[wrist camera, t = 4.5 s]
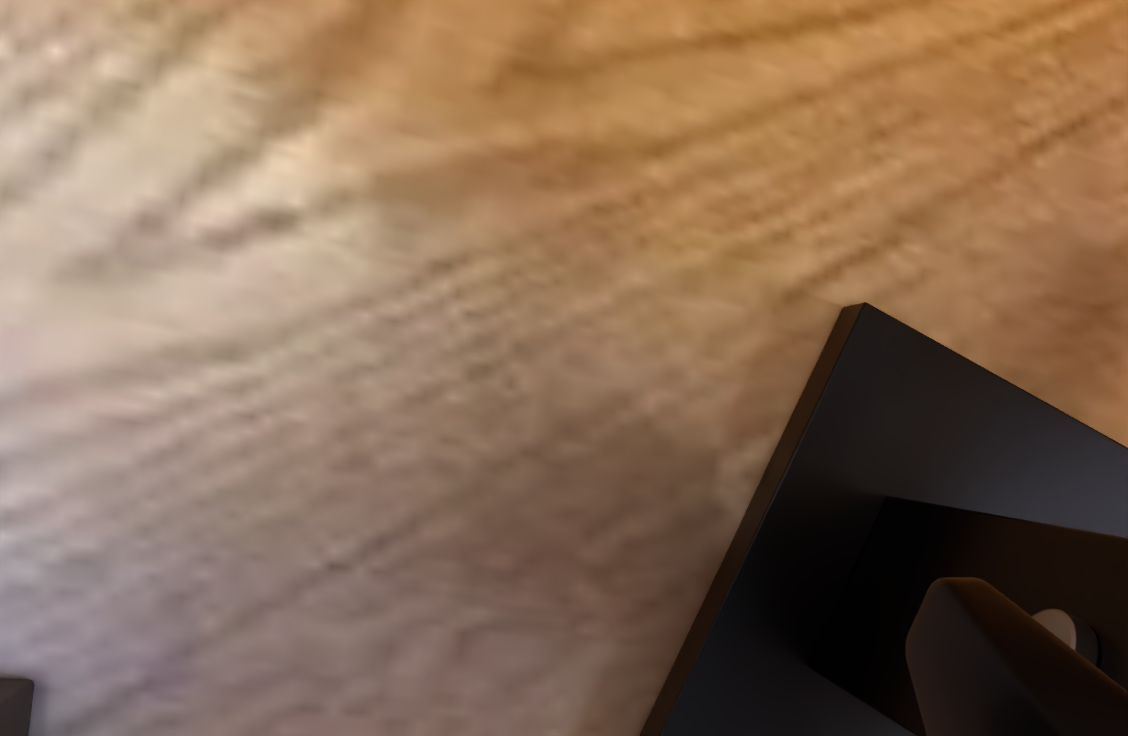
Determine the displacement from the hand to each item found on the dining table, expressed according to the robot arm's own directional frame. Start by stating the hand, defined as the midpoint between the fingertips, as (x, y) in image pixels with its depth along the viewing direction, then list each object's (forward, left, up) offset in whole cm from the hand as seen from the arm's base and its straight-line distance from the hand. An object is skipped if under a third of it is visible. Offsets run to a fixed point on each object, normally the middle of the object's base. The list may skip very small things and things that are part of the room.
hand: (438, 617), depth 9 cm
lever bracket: (-11, -5, -15) cm, 19 cm away
